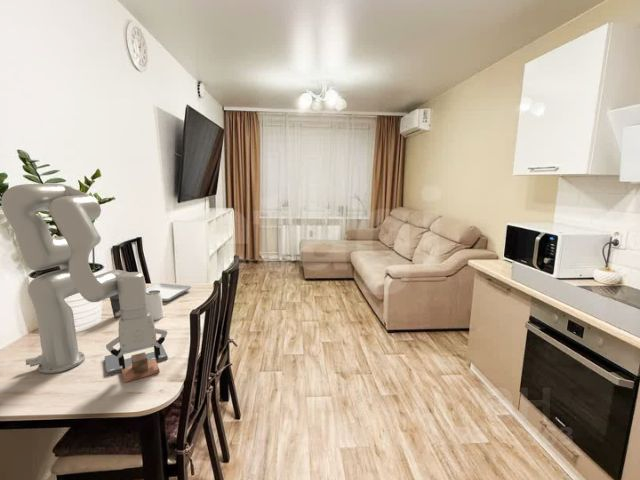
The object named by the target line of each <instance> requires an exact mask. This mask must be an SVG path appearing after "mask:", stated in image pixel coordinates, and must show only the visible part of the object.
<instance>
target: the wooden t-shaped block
mask: <svg viewBox="0 0 640 480" xmlns="http://www.w3.org/2000/svg"><path fill="white" fill-rule="evenodd" d="M131 359H132V365H131V366H128V367H125V369H123V368H121V369H122V372H121V375H122V378H123V383H128V382H131V381H136V380H137V379H141V378H144V377H148V376H152V375H155V374H159V373H160V367H159V365H158V362H156V360H155V359H153V360H150V361H147V357H146V354H145V352H143V353H139V354H136V355H132V356H131Z"/></svg>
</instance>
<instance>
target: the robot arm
mask: <svg viewBox="0 0 640 480" xmlns="http://www.w3.org/2000/svg"><path fill="white" fill-rule="evenodd" d="M0 201H1V202H0V203H1V204H0V206H1V210H2V212H3V215H4V216H5V218H6V220H7V222H8V223H9V224H10V227H11V228H12V230H13V233H14V236H15V238H16V243H17V245H18V247H19V251H20V253H21V256H22V259H23V262H24V264H25V265H26V267H27V268H28V269H29V270H32V271H44V270H47V269H51V268H55V267H59V268H60V269H59V270H53V271H50V272H46V273H43V274H41V275H38V276H37V277H34V278H33V279H32V280H31V281H30V282H29V284H28V285H27V293H28V295H29V298H30V300H31V303H32V305H33V308H34V311H35V312H34V313H35V317H36V322H37V328H38V335H39V341H40V346H41V354H40V355H38V356H37V357H35V356H34V357H31V358H26V359H25V365H26V366H29V367H30V368H31V367H35V366H37V368H38V371H39V372H40V373H42V374H56V373H61V372H65V371H68V370H71V369H73V368H75V367H77V366H79V365H81V363H83V362H84V360H85V353H83V352H82V351H79V346H78V338H77V331H76V325H75V323H76V322H75V319H74V318H75V316H74V311H73V309H72V307H71V306H70V305H69V303H67V302H66V300H65V299H67V298H68V297H71V296H74V295H76V294H80V296H81V297H82V298H83V299H85V300H86V301H87V302H90V303H99V302H101V301H104V300H106V299H110V298H109V297H111V296H114V295H116V294H118V295H119V303H120V310H119V311H118V312H115V315H116V316H120V318H118V331H117V332H118V336H117V337H116V338H114V339H113V340H112V341H110V342H108V343H107V344H106V345H105V348H106V350H107V351H109V352H110V355H112V354H113V355H115V356H117V357H118V359H119V366H122V368H123V369H125V362H124V356H123V354H124V353H125V352H126V351H131V350H135V349H139V348H143V347H147V346H150V345H154V353H155V358H156V359H157V360H158V359H159V355H160V346H161V344H162V345H163V343H164V342H165V340H166V337H167V335H168V331H167V330H166V329H165V330H164V329H160V328H155V327H156V326H155V320H153V317H152V315H151V313H150V312H148V304H147V295H146V280H145V276H144V274H143V273H142V272H138V271H131V272H129V271H125V270H120V269H112V270H110V271H109V270H108V271H107V272H104V273H101V274H97V275H95V274H94V272H93V271H92V269H91V266H90V262H89V258H90V254H91V252H92V251H93V249H94V248H96V246H98V245H99V244H100V242H101V240H102V238H101V235H100V233H99V232H98V230H97V229H96V226H95V225H94V223H93V221H95V220H96V219H98V218H99V217H100V216H101V213H102V208H101V204H100V203H99V202H98V200H97V199H96V198H94V197H93V196H91V195H90V194H88V193H85V192H83V191H81V190H79V189H76V188H73V187H70V186H69V185H66V184H61V183H24V184H17V185H14V186H13V185H12V186H11V187H9V188H8V189H6V190H5V191H4V192H3V194H2V197H1V200H0ZM43 211H46V212H47V211H48V212H49V215H50V216H51V218H52V220H53V222H54V223H55V225H56V227H57V228H58V230H59V232H60V233H61V236H56V237H53V236H52V234H51V231H50V229H49V226H48V223H47V222H46V221H45V220H44V219H43V218H42V217H41V216H40V215H38V214H36V213H37V212H43ZM157 335H160V337H159V338H158V339H157ZM118 344H119V348H118V349H116V348H114V347H115V346H116V345H118Z"/></svg>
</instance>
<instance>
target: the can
mask: <svg viewBox="0 0 640 480" xmlns="http://www.w3.org/2000/svg"><path fill="white" fill-rule="evenodd" d="M146 295H147V304H148V312H150V313H151V315H152V317H153V321H158V320H161V319H163V318H164V308H163V307H164V306H163V301H162V295H161V293H160V291H159V290H153V291H149V292H147V293H146Z"/></svg>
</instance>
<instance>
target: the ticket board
mask: <svg viewBox="0 0 640 480" xmlns="http://www.w3.org/2000/svg"><path fill="white" fill-rule="evenodd" d="M143 352H145V354H146V357H147V361H150V360H153V359H155V360H156V362H157V363H159V362H162V361H165V360H168V358H169V357H168V353H167V352H166V350H165V348H164V346H163V343H162V344H161V346H160V355H159V359H158V360H157V359H156V358H155V353H154V345H150V346H147V347H143V348H139V349H135V350H131V351H126V352H125V353H124V354H123V356H124V362H125V367H128V366H131V365H132V359H131V356H132V355H136V354H139V353H143ZM104 362H105V369H106V374H107V375H106V376H107V377H108V376H111V375H114V374H119V373H122V369H121V368H122V366H119V359H118V357H117V356H115V355H113V354H108V355H105V356H104Z"/></svg>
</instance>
